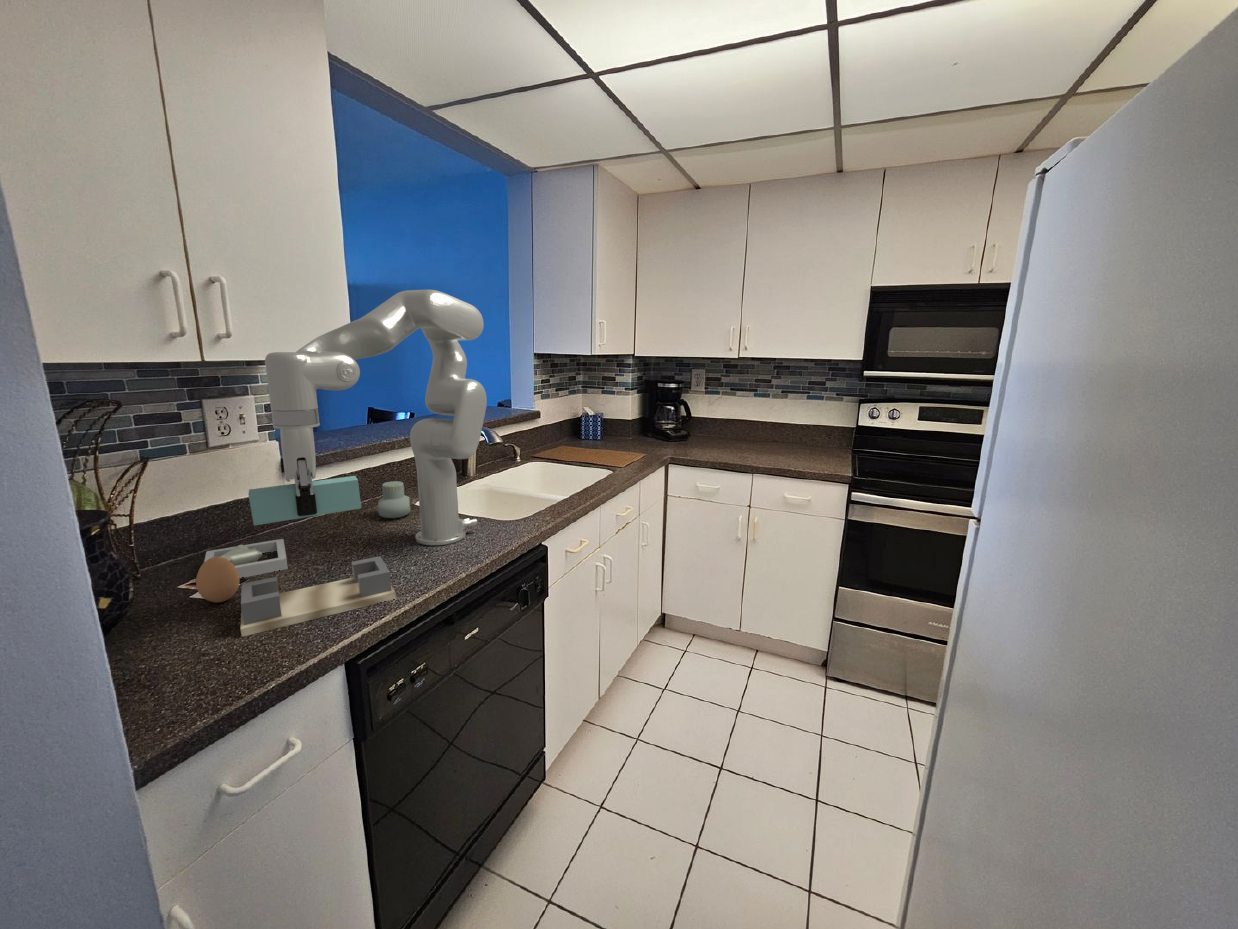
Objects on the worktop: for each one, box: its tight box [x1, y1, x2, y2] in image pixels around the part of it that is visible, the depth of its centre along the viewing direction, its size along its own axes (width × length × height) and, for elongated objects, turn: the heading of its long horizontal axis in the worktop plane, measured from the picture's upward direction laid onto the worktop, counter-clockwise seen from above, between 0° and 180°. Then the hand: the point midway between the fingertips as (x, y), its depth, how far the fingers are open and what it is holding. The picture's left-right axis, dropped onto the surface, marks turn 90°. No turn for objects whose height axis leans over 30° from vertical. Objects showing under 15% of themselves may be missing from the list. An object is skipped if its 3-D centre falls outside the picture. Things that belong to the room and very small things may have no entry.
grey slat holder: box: [240, 555, 392, 625], centre depth 99 cm, size 24×10×4 cm, turn 125°
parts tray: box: [203, 538, 289, 579], centre depth 117 cm, size 15×15×2 cm
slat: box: [248, 475, 362, 526], centre depth 100 cm, size 18×4×6 cm, turn 123°
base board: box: [240, 577, 397, 638], centre depth 100 cm, size 25×12×2 cm, turn 125°
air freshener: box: [377, 480, 411, 519], centre depth 153 cm, size 11×8×10 cm
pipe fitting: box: [220, 543, 263, 566], centre depth 117 cm, size 8×4×7 cm
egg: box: [195, 557, 240, 604], centre depth 100 cm, size 7×7×9 cm
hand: (306, 510), depth 101 cm, fingers closed on slat, 4 cm apart
